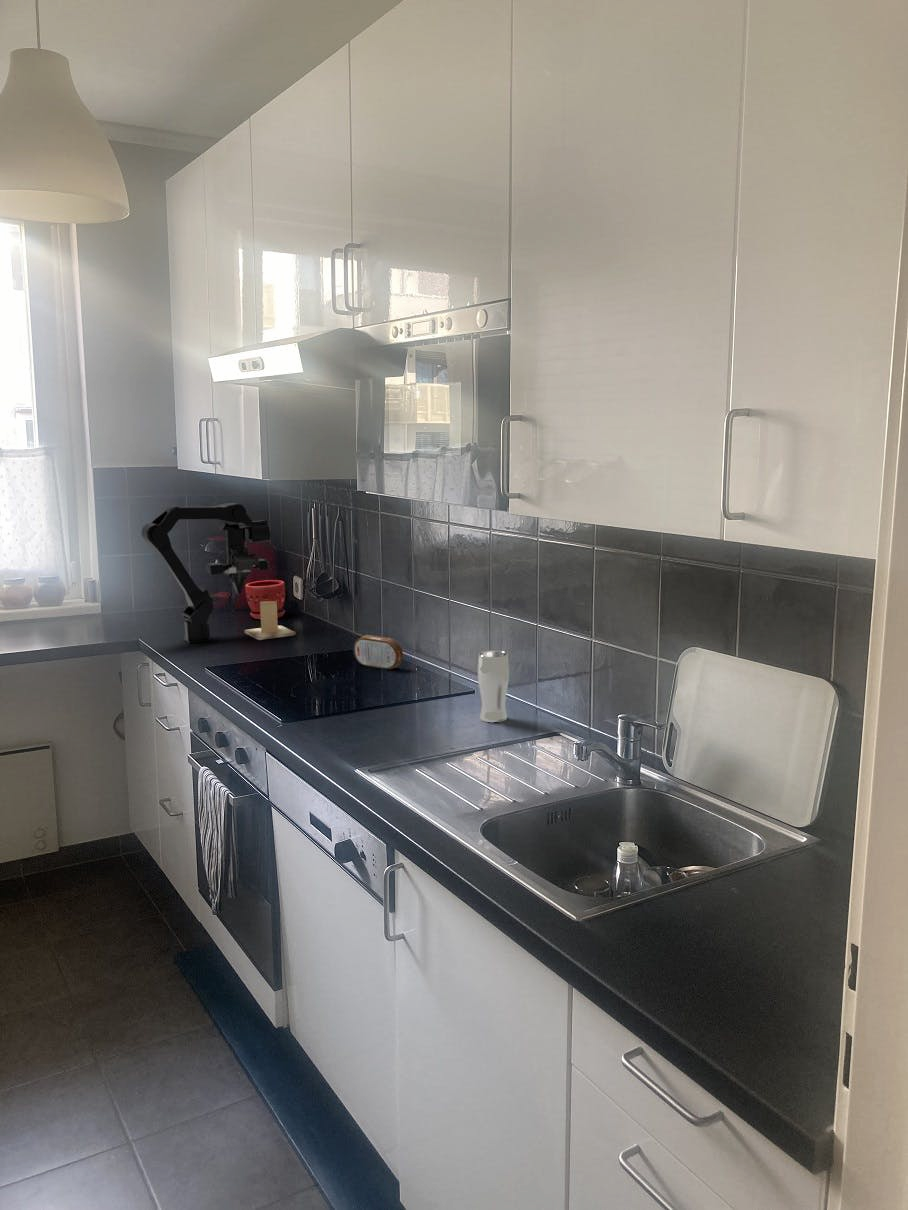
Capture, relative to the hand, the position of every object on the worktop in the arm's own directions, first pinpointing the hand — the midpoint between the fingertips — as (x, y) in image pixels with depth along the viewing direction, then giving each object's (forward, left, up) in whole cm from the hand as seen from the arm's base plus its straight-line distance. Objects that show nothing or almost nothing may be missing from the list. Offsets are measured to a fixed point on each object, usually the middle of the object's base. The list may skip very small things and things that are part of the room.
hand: (238, 594), depth 308 cm
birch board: (+8, -4, -13) cm, 16 cm away
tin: (+17, -60, -13) cm, 64 cm away
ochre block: (+8, -4, -12) cm, 15 cm away
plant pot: (+17, +22, -13) cm, 31 cm away
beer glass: (+17, -116, -13) cm, 118 cm away
